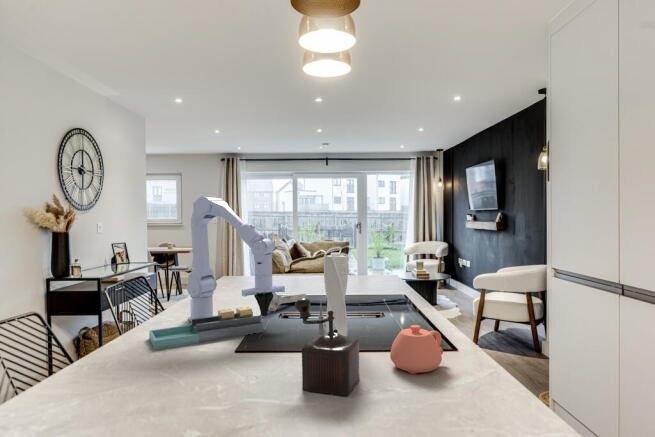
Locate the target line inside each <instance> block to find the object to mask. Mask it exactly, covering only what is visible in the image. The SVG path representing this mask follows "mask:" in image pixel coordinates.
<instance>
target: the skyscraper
mask: <svg viewBox="0 0 655 437" xmlns="http://www.w3.org/2000/svg"><path fill="white" fill-rule="evenodd" d="M335 249H339V252H331V253H330V255H327V254H328V253H329V251H332V250H335ZM342 249H343V248H342V247H341V246H333V247H330V248H328V249H327V250H326V252H325V253H324V255H323V280H324V289H325V295H326V296H325V298H326V300H327V301H326V302H327V303H326V312H325V313H326V317H325V316H324V315H323V306H322V300H320V301H319V302H320V307H319V315H318V320H322V319H327V318H328V311H330V310H332V311H333V312H334V313H333V317H334V320H333V331H334V330H335V329H337V330H338V332H337V333H338V334H340V335H343V336H347V337H349V336H348V318H347V307H346V299H345V298H346V294H347V287H348V277H349V255H348V253H342ZM317 332H318V335H324V334H326V333H327V332H329V321H327V322H325V327H324V323H320V324H318V331H317Z"/></svg>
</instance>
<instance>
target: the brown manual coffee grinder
mask: <svg viewBox="0 0 655 437" xmlns="http://www.w3.org/2000/svg"><path fill="white" fill-rule="evenodd" d="M294 303H295V304H294V308H295V309H296V310H297V311H298V313H299V319H302V324H304V325H319V324H320V323H323V324H324V323H325V324H326V322H327V321H329V332H327V333H326V332H325V333H324V335H319V334H317V335H316V336H315V337H314V338H312V339H311V340H310V341H309V342H307V343H306V344H305V345H304V346H302V348H301V369H302V371H301V375H302V376H301V377H302V385H301V389H302V391H303V392H308V393H311V394H312V393H313V394H320V395H325V396H334V397H343V398H347V397H349V396H350V394H351V393H352V392H353V391H354V389H355V388H356V386H357V384H358V383H359V382H360V339H359V338H355V337H349V336H348V337H347V336H343V335H340V334H338V333H337V332H338V330H337V329H335V330H334V331H333V320H334V317H333V313H334V312H333V311H332V310H330V311H328V318H327V319H326V318H324V319H322V320H319V319H311V320H309V318H310V317H312V315H311V314H312V313H310V307H311V304H312V302H311V301H310V299H309V298H307V297H306V298H302V299H299V300H298V301H296V302H294Z"/></svg>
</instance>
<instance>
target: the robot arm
mask: <svg viewBox="0 0 655 437" xmlns="http://www.w3.org/2000/svg"><path fill="white" fill-rule="evenodd" d="M192 210H193V211H192V214H191V217H190V227H191V228H190V229H191V230H190V231H191V247H192V248H191V249H192V250H191V251H192V266H193V269H192V270H191V272H190V273H189V274H188V277H187V279H188V280H187V283H186V291H187V293H188V295H189V297H190V298H191V299H190V316H189V317H187V319H188V320H189V322H191V319H195V318H203V317H210V316H214V305H213V304H214V298H213V295H214V293H215V290H216V289H217V287H218V283H217V280H216V277H215V272H214V270H212V268H211V267H210V250H209V233H208V224H209V222H211V221H212V220H213V219H214V218H216V217H220V218H222V219H223V220H225V221H226V222H227V223H228V224H229V225H231V226H232V227H233V228H234V229H235V230H236V231H237V236H238V237H239V238H240V239H241V240H242V241H243V242H244V243H245V244H246V245H247V246H248V247H249V248H250V251H251V253H252V255H253V258H254V259H253V260H254V287H251V288H246V289H245V288H244V289H241V296H242V297H248V296H254V298H255V300H256V302H257V305H258V307H259V311H260V316H262V317H267V316H268V314H269V313H268V311H269V310H268V308H269V305H270V303H271V301H272V299H273V294H272V293H276V294H277V293H285V292H286V287H285V285H273V253H274V252H275V250H276V246H275V243H274V241H273V240H272V239H271V238H269V237H265V236H266V235H265V234H264V233H261V232H260V231H259V230H258V229H257V228H256V225H255V224H251V223H245V222H244V221H243V219H241V218H240V216H238V214H237V213H235V212H234V210H233V209H232V208H231V207H230V206H229V204H228V202H226V201H225V200H223V198H221V197H209V196H199V197H198V198H196V200H195V201H194V202H193V203H192Z"/></svg>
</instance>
